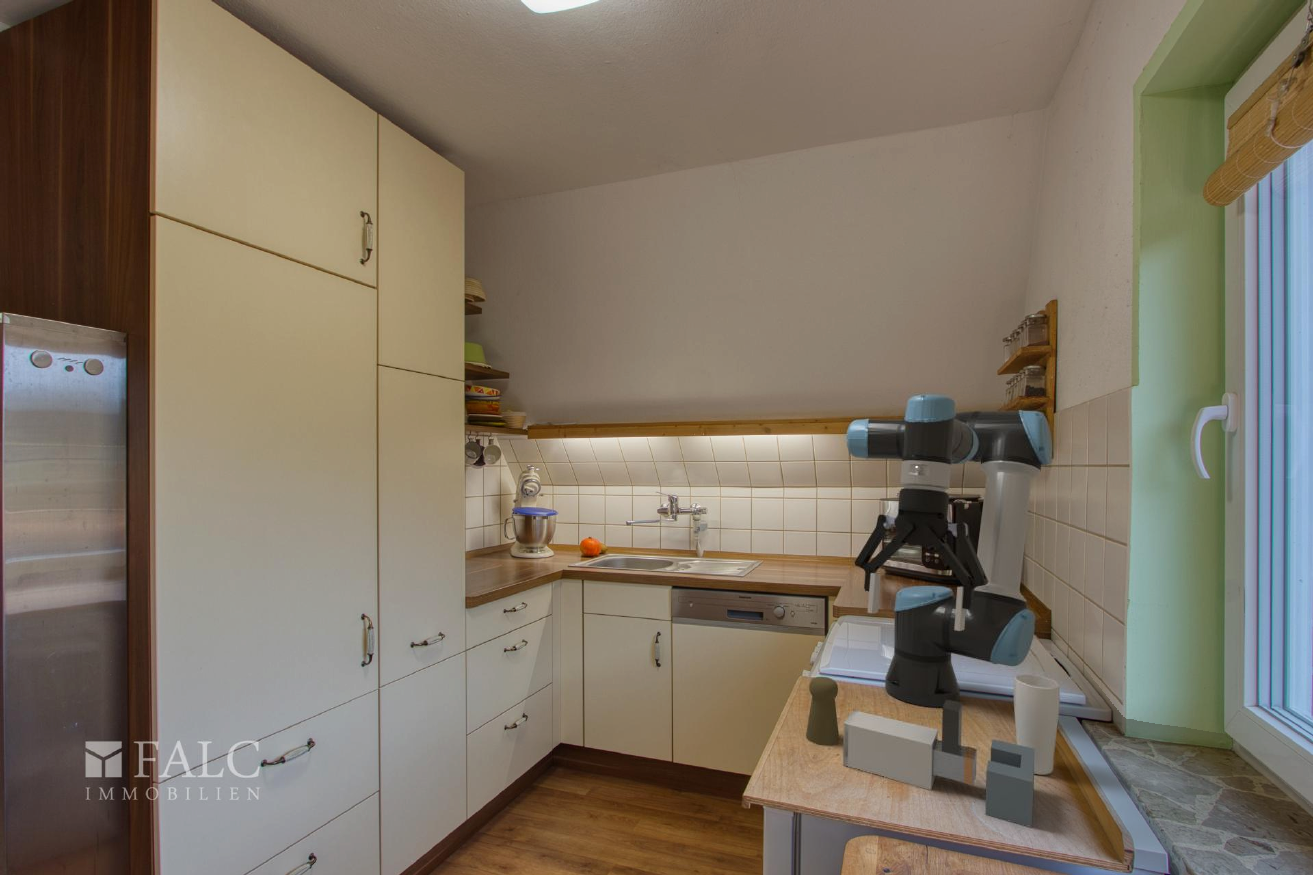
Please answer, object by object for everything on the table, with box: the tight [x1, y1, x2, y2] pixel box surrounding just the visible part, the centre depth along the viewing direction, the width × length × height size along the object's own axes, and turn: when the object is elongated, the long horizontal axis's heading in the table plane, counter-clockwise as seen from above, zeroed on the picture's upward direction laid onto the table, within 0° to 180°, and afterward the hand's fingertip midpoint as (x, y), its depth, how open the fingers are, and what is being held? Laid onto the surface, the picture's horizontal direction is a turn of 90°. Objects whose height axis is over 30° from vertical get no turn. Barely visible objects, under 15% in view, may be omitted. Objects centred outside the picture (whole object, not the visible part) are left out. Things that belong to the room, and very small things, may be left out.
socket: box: [985, 738, 1035, 827], centre depth 101 cm, size 12×6×7 cm, turn 149°
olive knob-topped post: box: [805, 676, 840, 746], centre depth 122 cm, size 6×6×11 cm
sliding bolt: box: [932, 700, 978, 786], centre depth 108 cm, size 4×18×11 cm, turn 59°
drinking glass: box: [1013, 673, 1061, 776], centre depth 112 cm, size 7×7×15 cm
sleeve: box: [842, 709, 939, 791], centre depth 111 cm, size 6×14×7 cm, turn 59°
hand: (914, 621), depth 105 cm, fingers open, 13 cm apart
